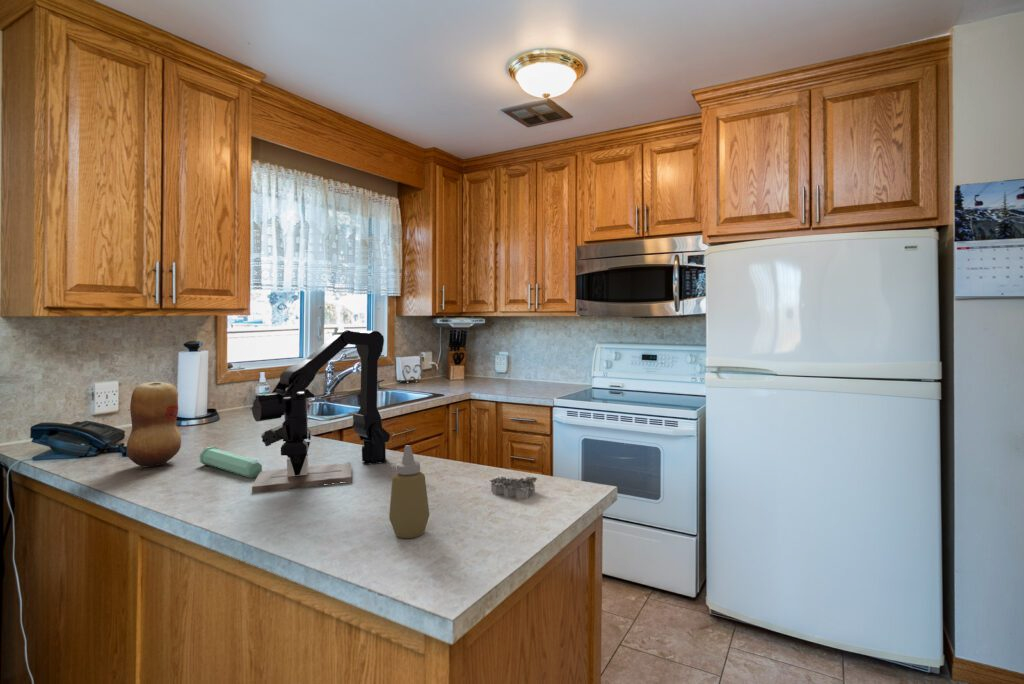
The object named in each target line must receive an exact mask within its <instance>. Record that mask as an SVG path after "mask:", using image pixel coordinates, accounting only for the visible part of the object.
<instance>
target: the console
mask: <svg viewBox="0 0 1024 684" xmlns="http://www.w3.org/2000/svg"><path fill="white" fill-rule="evenodd" d="M308 470H309V471H308V475H299V476H289V477H287V468H281V469H270V470H268V469H267V470H262V471H260V473H259V475H258V476H256V479H255V481H254V482H253V484H252V486H251V492H253V493H260V492H259V491H263V492H272V491H271V490H273V491H279V490H280V491H281V489H283V490H291V489H290V488H292V489H300V488H299V487H302V488H308V487H307V486H312V487H317V486H316V485H322V486H325V485H324V484H332V483H340V482H351V483H352V463H351V462H346V463H344V462H343V463H337V464H336V463H335V464H324V465H323V464H322V465H315V466H314V465H313V466H308ZM332 485H333V484H332Z"/></svg>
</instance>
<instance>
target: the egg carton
mask: <svg viewBox="0 0 1024 684" xmlns="http://www.w3.org/2000/svg"><path fill="white" fill-rule="evenodd" d="M537 480H538V479H537V477H534V476H526V477H525V478H523V477H520V478H514V477H512V478H511V477H510V478H509V477H508V478H507V477H506V476H501V477H500V476H498V477H495V478H492V479H491V480H490V479H489V480H488V481H489V482H490V483H491V485H490V487H491V488H490V489H491V491H490V492H491V493H492V495H496V496H497V495H503V496H504V498H505V497H506V498H509V497H514V498H515V499H516V500H524V499H525V500H526V499H529V495H531V496H533V495H535V494H536V485H535V483H536V481H537Z"/></svg>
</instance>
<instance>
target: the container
mask: <svg viewBox="0 0 1024 684" xmlns="http://www.w3.org/2000/svg"><path fill="white" fill-rule="evenodd" d="M199 463H201V464H202V465H204V466H205V465H207V466H211V467H213V466H214V467H213V468H216V467H217V469H219V468H220V469H219V470H222V469H223V471H226V472H229V471H230V472H229V473H232V472H233V474H236V475H239V474H240V476H242V475H243V477H245V476H246V478H249V477H250V479H253V478H257V477H258V475H259V473H260V471H263V465H262V463H261V462H260V461H258V460H257V459H254V458H250V457H246V456H243V455H239V454H235V453H233V452H230V451H229V452H228V451H225V450H222V449H219V448H216V447H215V446H213V445H212V446H208V447H205V448H204V449H203V450H202V451H201V452H200V453H199Z"/></svg>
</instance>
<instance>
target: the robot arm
mask: <svg viewBox="0 0 1024 684" xmlns="http://www.w3.org/2000/svg"><path fill="white" fill-rule="evenodd" d="M384 344H385V338H384V335H383V334H382V333H381V332H380V331H378V330H362V331H358V332H357V331H351V330H348V329H340V330H337V331H336V332H335V333H334V334H333V336H331V337H330V338H329V339H328V340H327V341H325V342H324V343H323V344H321V346H319V348H317V349H316V350H315V351H314V352H313V353H311V354H310V355H308V357H306V358H305V359H304V360H302V361H300V362H297V363H295V364H293V365H291V366H289V367H288V368H286V369H285V370H283V371H282V372H281V373H280V374H279V381H278V382H277V384H276V385H275V387H274V388H273V390H272V391H271V393H267V394H266V393H265V394H263V393H260V394H255V398H254V401H253V403H252V406H251V412H252V417H253V420H254V421H255V422H264V421H270V420H277V419H281V418H282V417H283V416H284V420H283V421H282V424H281V425H278V426H276V427H274V428H269V429H268V430H265V431H264V432H263V433H261V436H260V437H261V439H262V441H261V442H263V444H264V446H265V447H269V446H271V445H272V444H274V443H275V444H276V443H277V442H279V441H282V442H284V443H282V445H281V447H280V456H287V457H289V458H290V460H291V463H292V467H293V470H294V473H295V475H300V472H301V469H302V466H303V463H304V461H305V458H306V455H307V454H308V451H309V448H310V444H311V441H310V440H312V431H311V430H310V429H309V427H308V424H309V423H308V422H309V417H308V399H310V398H315V397H316V396H315V394H314V393H312V392H311V391H310V390H309V388H308V387H309V386H310V385H311V384H312V382H313V381H314V380H315V378H316V375H317V373H318V372H319V371H320V370H321V369H322V368H323V367H324V366H325V365H326V364H328V363H329V362H330V361H331V360H332V359H333V358H334V357H336V356H337V355H338V354H339V353H340V352H341V351H342V350H343V349H345V348H346V347H347V346H348V345H354V346H355V347H356V353H357V354H358V357H359V359H360V398H359V399H360V402H359V404H360V405H359V407H360V408H359V409H358V412H357V413H353V414H352V426H351V427H352V428H353V431H354V432H355V434H356V435H357V436H358V438H359V440H360V441H363V445H362V446H361V461H362V462H363V464H364V465H370V464H369V463H374V464H380V463H379V462H385V463H387V458H386V457H387V455H386V454H387V453H386V452H387V451H386V449H387V448H386V443H388V442H390V440H391V439H390V438H391V434H390V433H389V432H388V431H387V430H386V429H385V428H383V421H382V417H381V413H380V412H379V410H378V374H379V373H378V372H379V371H378V369H379V368H378V365H379V363H378V361H379V359H380V357H381V356H382V354H383V349H384ZM306 440H308V441H306Z"/></svg>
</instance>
